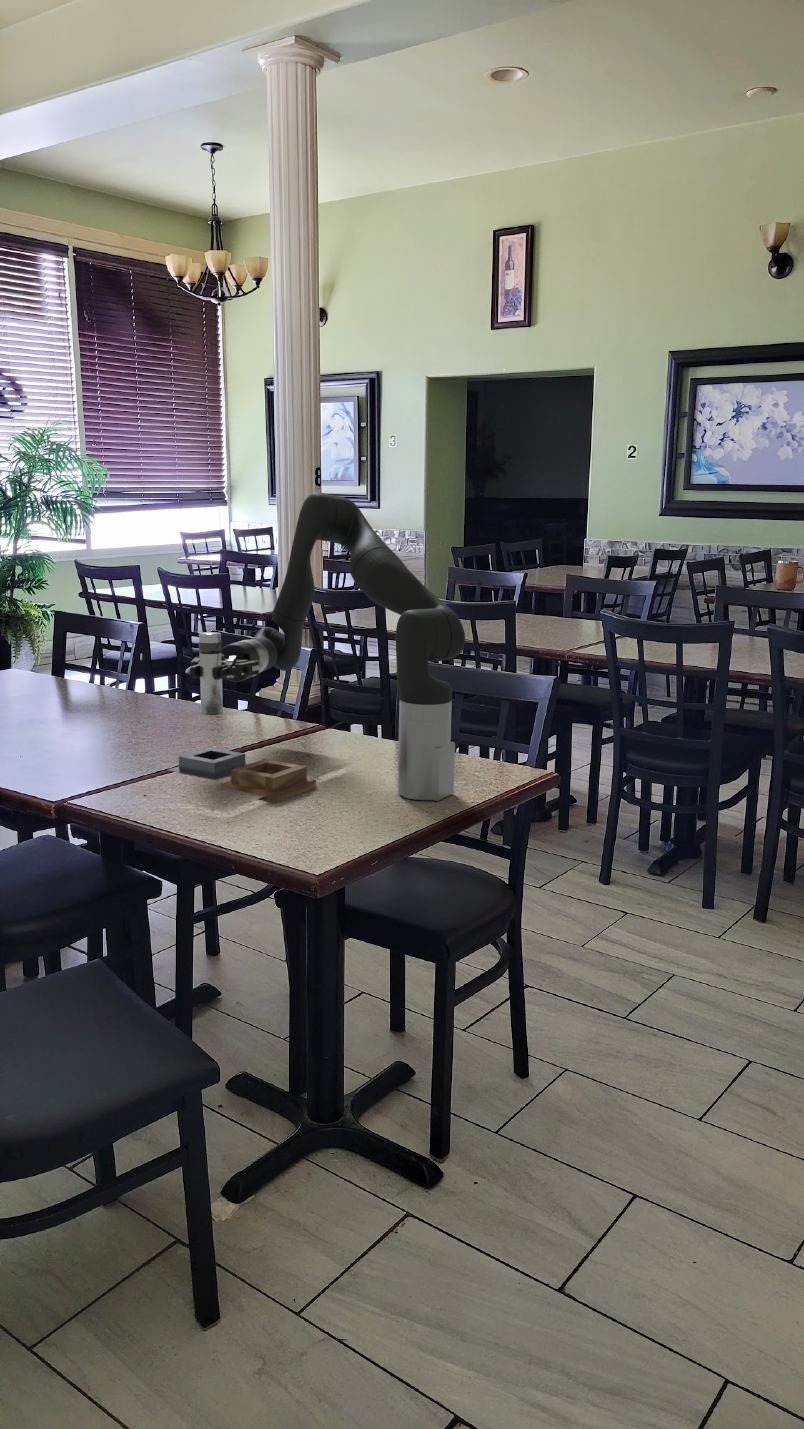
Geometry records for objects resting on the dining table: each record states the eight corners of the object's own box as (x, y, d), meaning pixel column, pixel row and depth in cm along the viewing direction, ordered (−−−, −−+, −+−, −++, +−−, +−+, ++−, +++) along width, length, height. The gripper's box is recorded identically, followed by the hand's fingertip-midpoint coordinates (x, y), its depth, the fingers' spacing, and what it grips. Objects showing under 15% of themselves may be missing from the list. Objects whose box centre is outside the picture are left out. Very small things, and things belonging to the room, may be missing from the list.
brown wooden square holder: (315, 787, 190) (315, 766, 189) (275, 803, 179) (274, 780, 179) (264, 777, 196) (263, 756, 195) (221, 792, 186) (221, 770, 185)
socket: (257, 770, 200) (257, 753, 199) (215, 784, 190) (215, 766, 189) (209, 761, 206) (209, 744, 205) (166, 775, 196) (166, 757, 195)
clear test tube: (227, 712, 196) (225, 633, 193) (212, 716, 193) (210, 635, 190) (211, 709, 198) (209, 631, 195) (196, 713, 195) (193, 633, 192)
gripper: (210, 639, 209) (168, 651, 192) (276, 642, 205) (239, 655, 189) (211, 676, 210) (169, 691, 194) (276, 680, 206) (239, 696, 190)
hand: (204, 673), depth 191 cm, fingers closed on clear test tube, 4 cm apart
